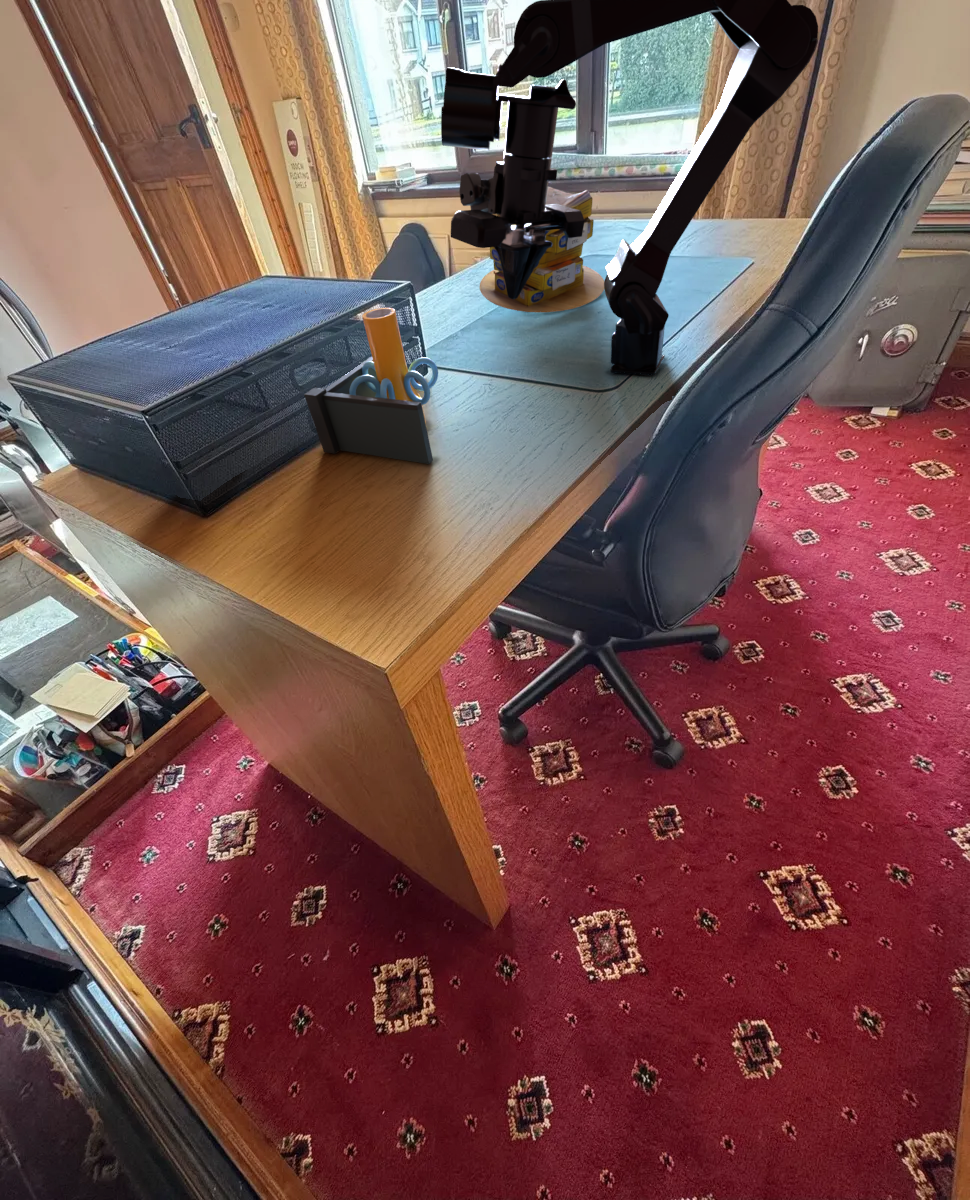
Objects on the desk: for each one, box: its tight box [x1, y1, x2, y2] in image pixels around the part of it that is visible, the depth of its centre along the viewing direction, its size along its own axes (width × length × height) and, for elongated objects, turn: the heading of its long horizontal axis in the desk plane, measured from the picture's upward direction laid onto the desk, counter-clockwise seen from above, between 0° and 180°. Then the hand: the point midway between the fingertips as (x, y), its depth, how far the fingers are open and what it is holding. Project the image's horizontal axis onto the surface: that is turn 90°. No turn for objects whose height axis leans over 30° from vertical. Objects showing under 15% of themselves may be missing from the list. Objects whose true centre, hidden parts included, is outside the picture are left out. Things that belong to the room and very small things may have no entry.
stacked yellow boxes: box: [479, 186, 605, 313], centre depth 108 cm, size 25×25×17 cm
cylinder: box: [350, 307, 439, 424], centre depth 72 cm, size 12×10×15 cm
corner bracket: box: [303, 355, 434, 465], centre depth 75 cm, size 16×17×8 cm
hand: (512, 298), depth 78 cm, fingers closed
